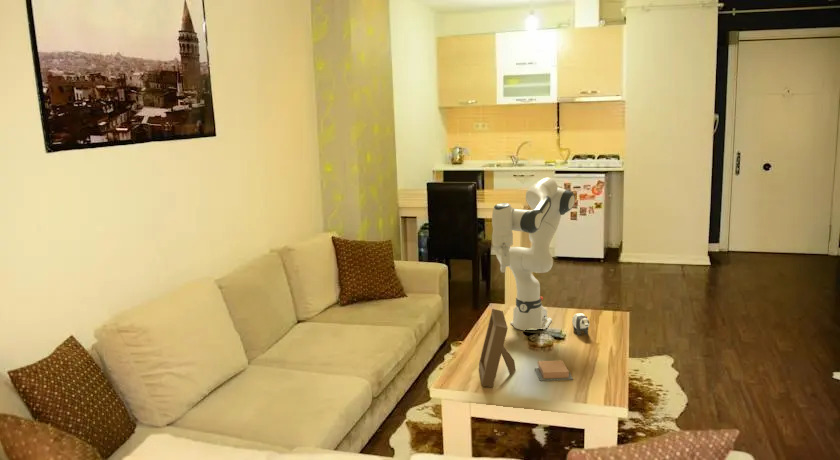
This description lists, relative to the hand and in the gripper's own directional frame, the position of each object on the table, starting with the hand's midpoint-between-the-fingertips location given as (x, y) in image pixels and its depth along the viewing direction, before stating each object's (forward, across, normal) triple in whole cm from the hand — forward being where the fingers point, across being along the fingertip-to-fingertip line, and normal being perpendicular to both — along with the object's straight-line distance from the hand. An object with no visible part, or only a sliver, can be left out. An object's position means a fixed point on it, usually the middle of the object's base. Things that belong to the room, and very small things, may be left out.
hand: (502, 271), depth 303 cm
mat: (+35, -32, -16) cm, 50 cm away
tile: (+33, -25, -16) cm, 44 cm away
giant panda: (+35, +16, -39) cm, 55 cm away
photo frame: (+35, -32, +6) cm, 48 cm away
